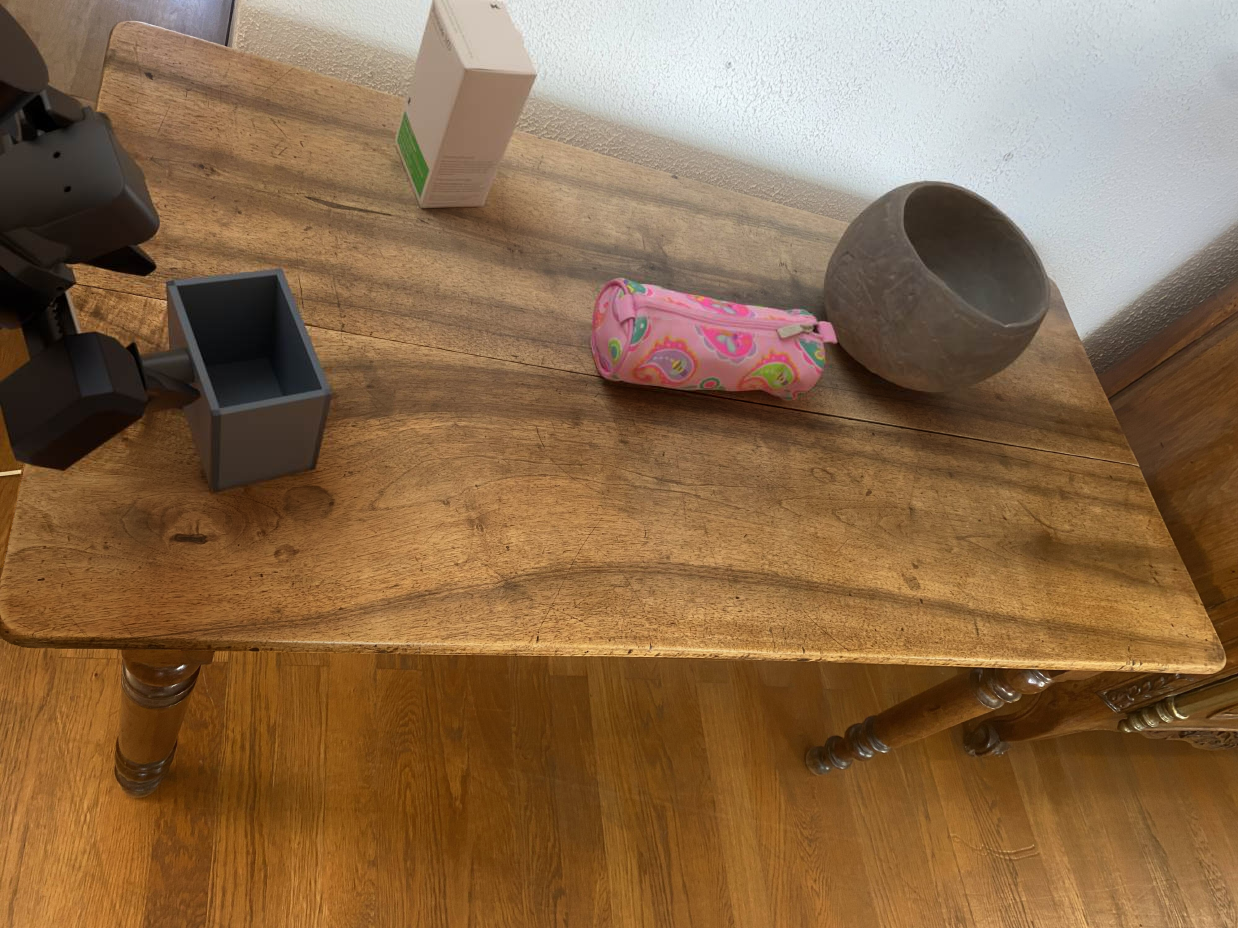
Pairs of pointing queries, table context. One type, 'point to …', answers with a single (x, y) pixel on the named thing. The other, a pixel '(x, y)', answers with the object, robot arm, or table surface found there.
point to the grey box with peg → (245, 376)
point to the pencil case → (705, 342)
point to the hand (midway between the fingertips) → (172, 332)
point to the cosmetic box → (463, 102)
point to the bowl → (935, 288)
